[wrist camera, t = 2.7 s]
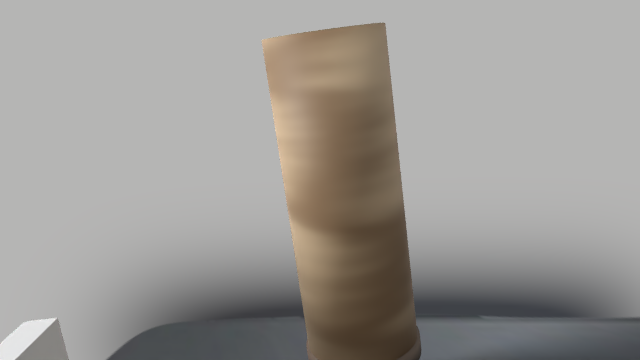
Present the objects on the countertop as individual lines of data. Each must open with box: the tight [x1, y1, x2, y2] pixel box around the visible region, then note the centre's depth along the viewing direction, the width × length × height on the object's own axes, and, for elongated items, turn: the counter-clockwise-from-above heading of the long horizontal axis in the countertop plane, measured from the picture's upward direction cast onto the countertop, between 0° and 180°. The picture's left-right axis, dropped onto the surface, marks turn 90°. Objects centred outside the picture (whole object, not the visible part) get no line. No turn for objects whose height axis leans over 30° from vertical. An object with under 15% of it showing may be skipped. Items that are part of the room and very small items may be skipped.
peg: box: [262, 23, 421, 360], centre depth 22 cm, size 5×5×16 cm
